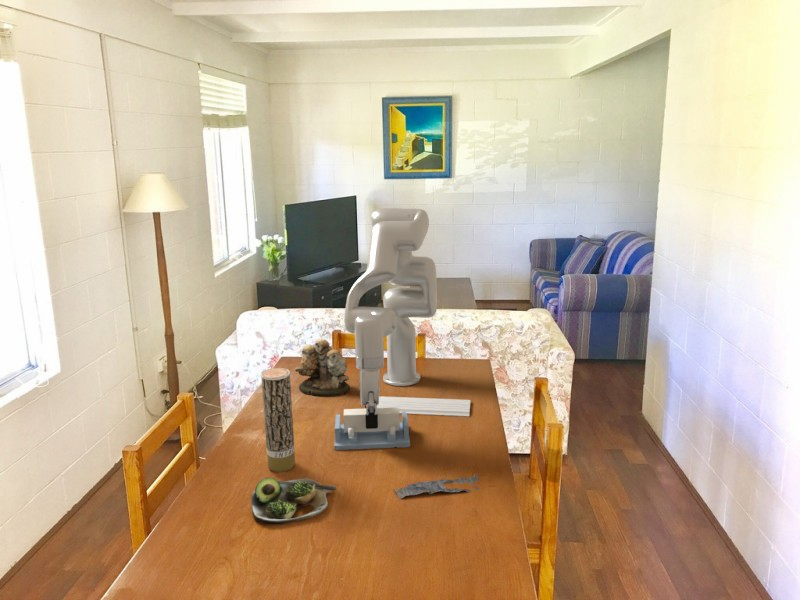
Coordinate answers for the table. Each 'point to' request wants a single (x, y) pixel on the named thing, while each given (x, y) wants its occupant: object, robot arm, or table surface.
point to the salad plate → (287, 499)
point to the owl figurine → (323, 370)
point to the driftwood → (434, 486)
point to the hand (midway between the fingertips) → (371, 420)
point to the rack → (371, 437)
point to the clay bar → (358, 419)
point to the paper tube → (278, 419)
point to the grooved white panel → (427, 406)
